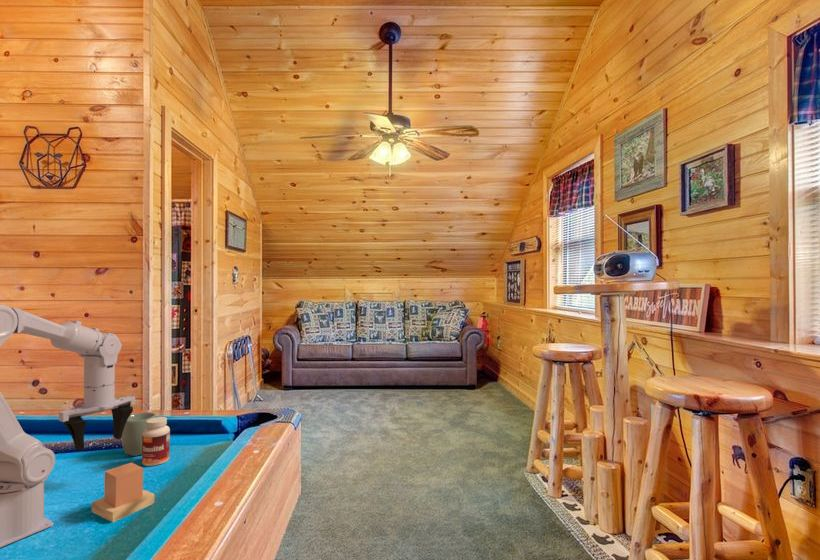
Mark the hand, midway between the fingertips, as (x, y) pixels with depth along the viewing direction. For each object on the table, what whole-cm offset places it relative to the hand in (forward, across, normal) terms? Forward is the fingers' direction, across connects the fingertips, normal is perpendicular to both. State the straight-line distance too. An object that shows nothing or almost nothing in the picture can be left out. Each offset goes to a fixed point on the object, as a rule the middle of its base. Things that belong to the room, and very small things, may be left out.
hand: (99, 443), depth 94 cm
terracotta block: (+8, -2, -15) cm, 17 cm away
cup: (+10, +15, +12) cm, 22 cm away
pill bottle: (+10, +14, +2) cm, 17 cm away
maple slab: (+10, -2, -14) cm, 18 cm away
